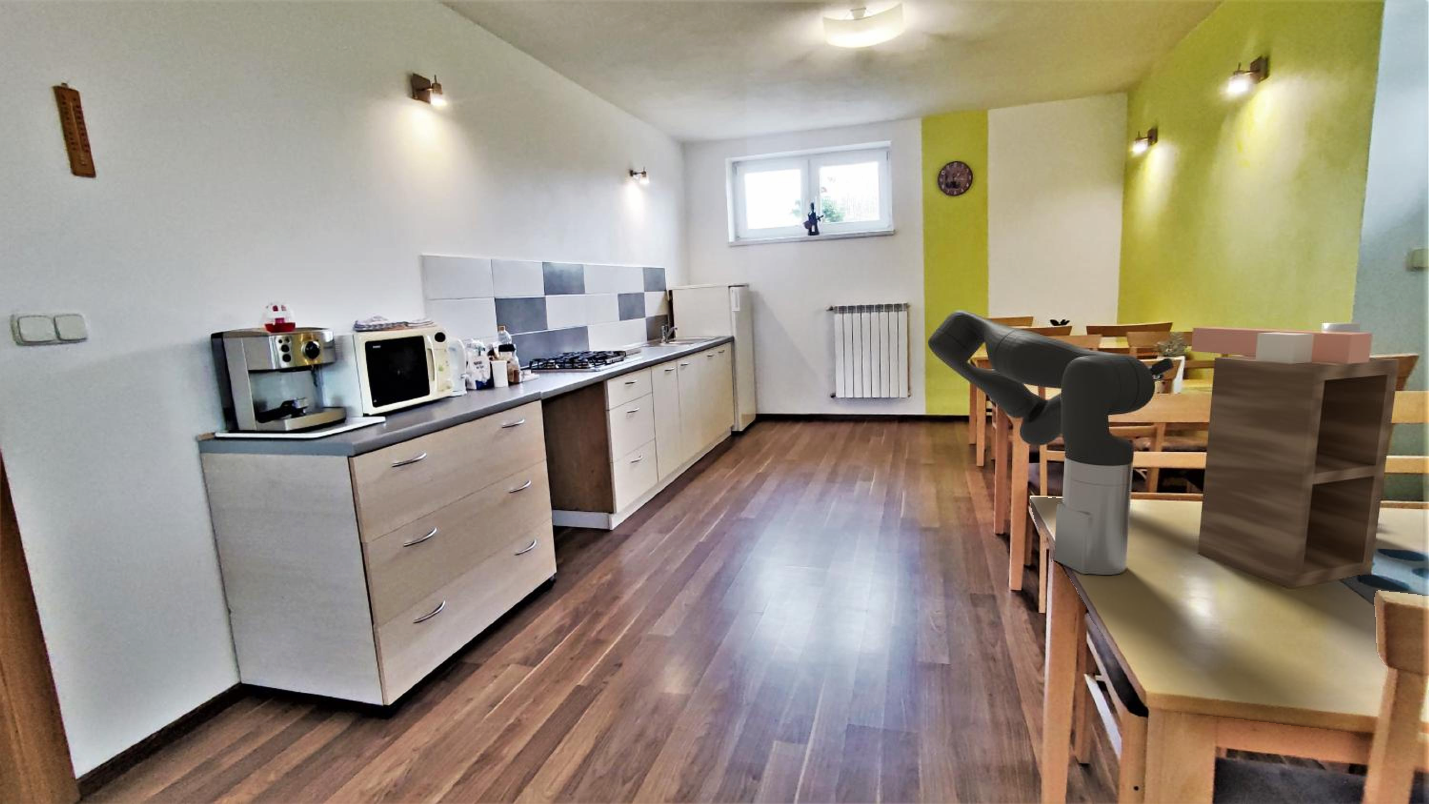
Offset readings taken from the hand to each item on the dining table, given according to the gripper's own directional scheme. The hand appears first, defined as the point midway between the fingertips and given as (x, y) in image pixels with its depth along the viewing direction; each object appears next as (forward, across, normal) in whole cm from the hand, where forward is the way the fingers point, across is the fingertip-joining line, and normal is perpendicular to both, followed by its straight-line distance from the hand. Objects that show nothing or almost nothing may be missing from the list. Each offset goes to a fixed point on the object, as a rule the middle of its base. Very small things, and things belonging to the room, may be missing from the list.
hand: (1152, 363), depth 123 cm
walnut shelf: (+7, 0, +38) cm, 38 cm away
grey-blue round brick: (+24, +6, +10) cm, 27 cm away
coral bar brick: (+19, 0, +8) cm, 21 cm away
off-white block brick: (+24, -5, +10) cm, 27 cm away
